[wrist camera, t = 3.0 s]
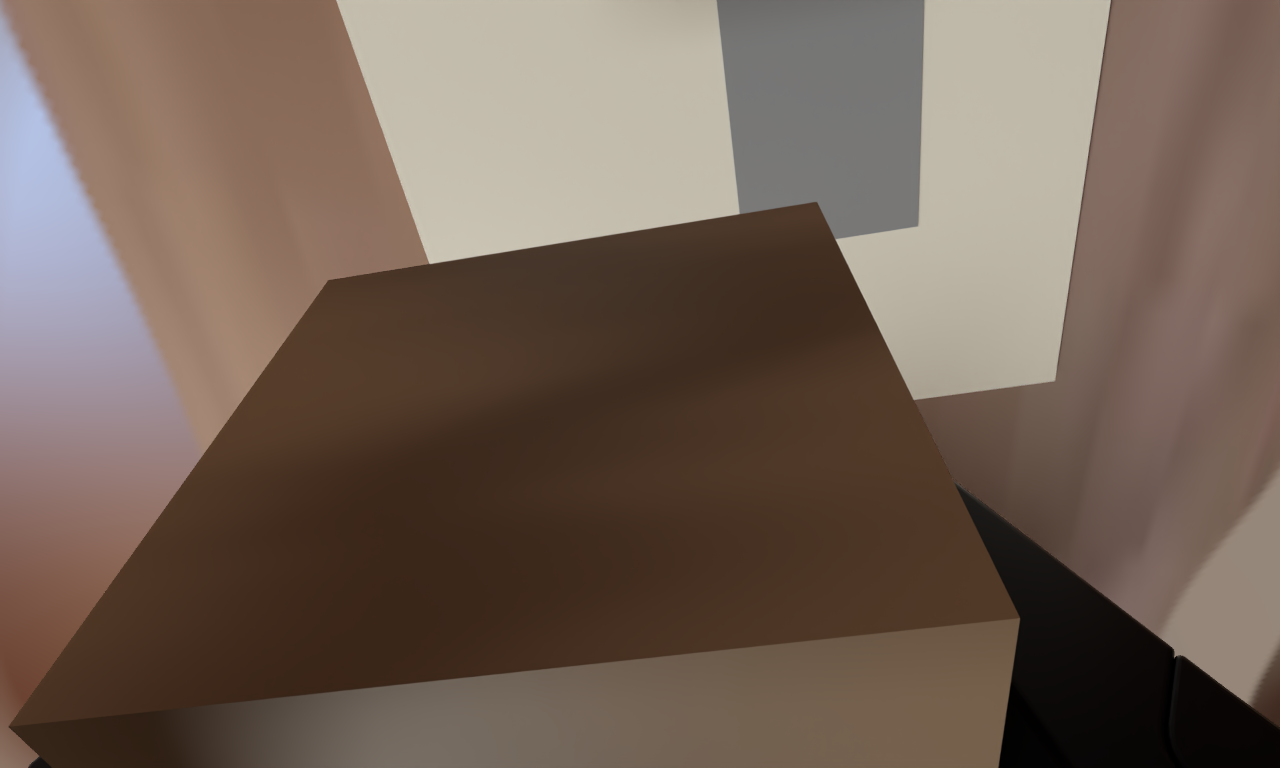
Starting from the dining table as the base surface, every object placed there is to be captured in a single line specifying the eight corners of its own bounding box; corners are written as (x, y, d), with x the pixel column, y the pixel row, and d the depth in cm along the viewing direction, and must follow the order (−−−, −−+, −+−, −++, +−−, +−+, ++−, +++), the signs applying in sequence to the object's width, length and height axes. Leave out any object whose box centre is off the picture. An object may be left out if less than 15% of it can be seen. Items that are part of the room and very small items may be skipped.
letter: (1243, -960, 8) (1257, -978, 8) (1051, 376, 17) (1055, 382, 16) (117, -634, 9) (107, -644, 9) (498, 451, 18) (496, 457, 18)
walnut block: (817, 201, 8) (1021, 617, 4) (834, 558, 10) (959, 1025, 6) (328, 280, 8) (9, 726, 4) (469, 601, 11) (364, 1060, 7)
